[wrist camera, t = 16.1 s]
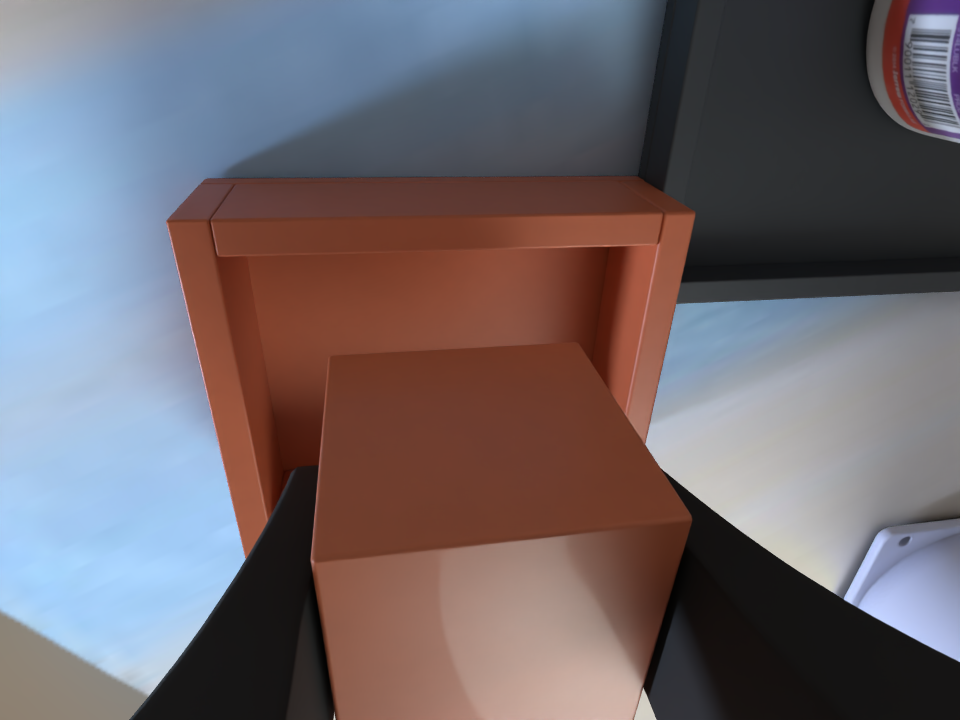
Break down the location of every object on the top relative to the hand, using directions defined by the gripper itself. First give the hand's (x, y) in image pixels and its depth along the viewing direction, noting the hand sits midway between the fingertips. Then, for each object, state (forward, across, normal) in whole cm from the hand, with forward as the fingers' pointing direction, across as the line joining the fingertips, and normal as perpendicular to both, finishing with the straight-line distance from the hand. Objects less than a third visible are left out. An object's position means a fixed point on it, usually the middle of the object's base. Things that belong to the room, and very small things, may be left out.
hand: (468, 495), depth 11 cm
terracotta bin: (+6, 0, 0) cm, 6 cm away
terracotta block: (+1, 0, 0) cm, 1 cm away
